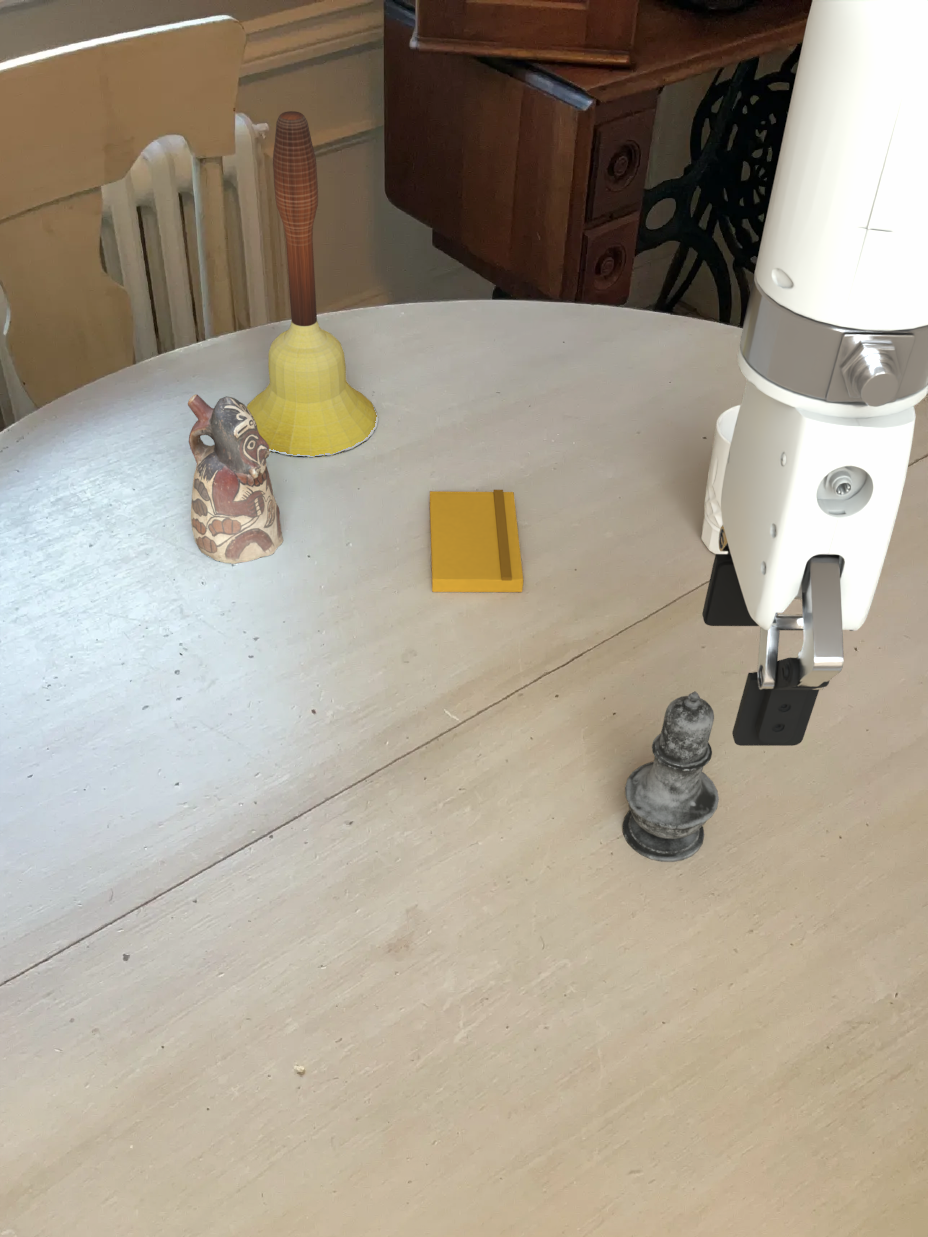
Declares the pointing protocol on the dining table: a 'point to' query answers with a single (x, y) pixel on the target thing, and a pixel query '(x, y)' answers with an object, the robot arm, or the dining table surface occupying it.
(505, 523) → the yellow strapped notebook
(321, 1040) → the dining table surface
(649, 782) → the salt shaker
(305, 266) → the handbell
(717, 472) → the white cup
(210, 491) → the figurine
